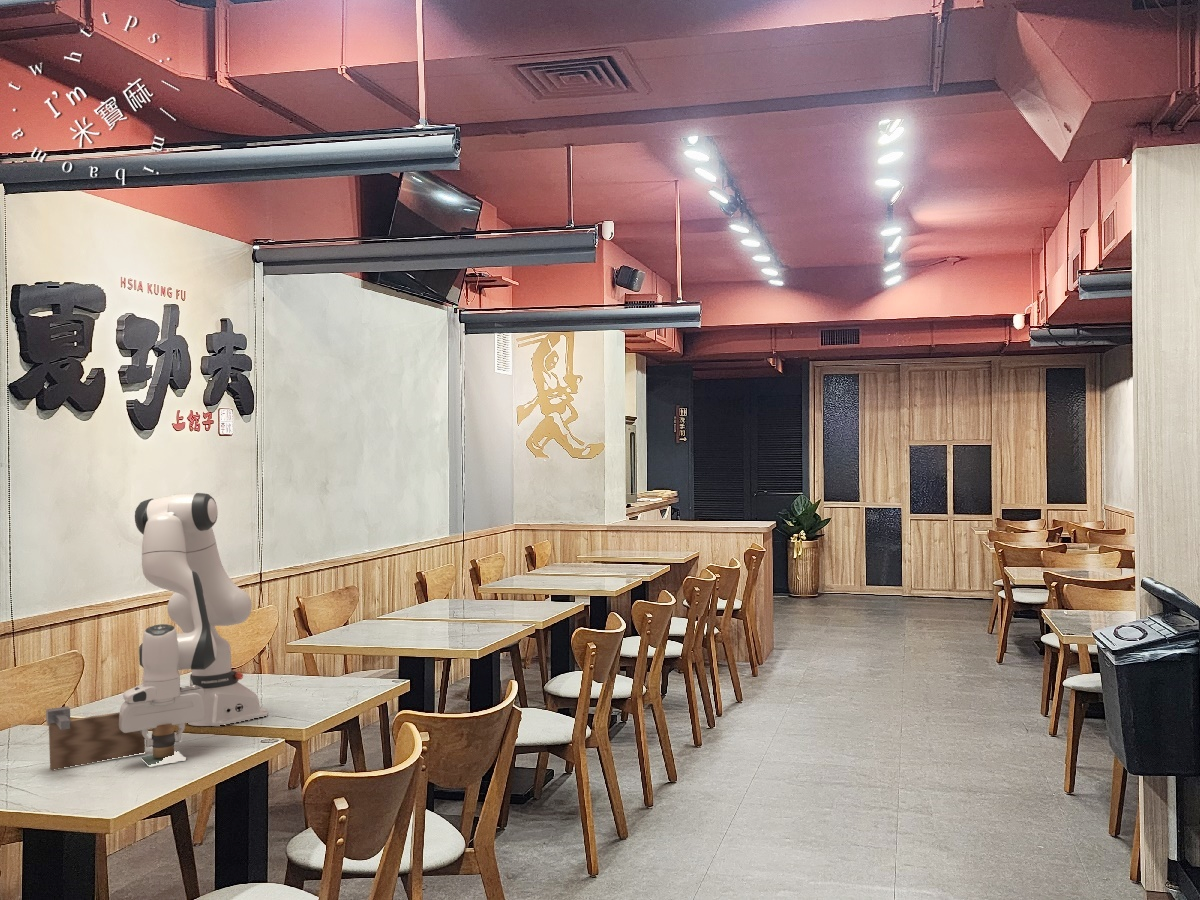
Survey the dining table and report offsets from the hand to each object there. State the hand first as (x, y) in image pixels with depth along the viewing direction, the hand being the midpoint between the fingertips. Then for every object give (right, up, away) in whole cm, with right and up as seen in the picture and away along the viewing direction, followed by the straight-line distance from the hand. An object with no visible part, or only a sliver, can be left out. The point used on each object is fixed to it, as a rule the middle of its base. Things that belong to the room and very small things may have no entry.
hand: (163, 744), depth 270 cm
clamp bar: (-22, +7, -8) cm, 24 cm away
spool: (0, -3, 0) cm, 3 cm away
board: (-17, -5, +1) cm, 18 cm away
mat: (0, -4, 0) cm, 4 cm away
